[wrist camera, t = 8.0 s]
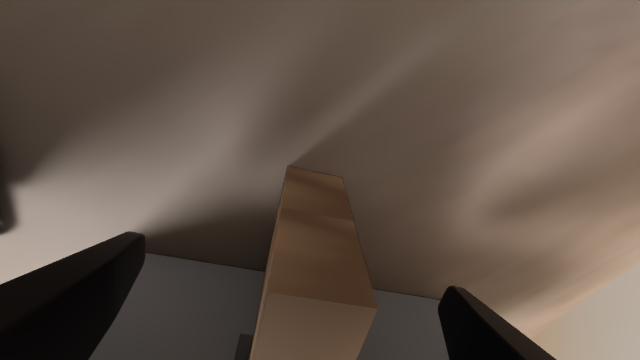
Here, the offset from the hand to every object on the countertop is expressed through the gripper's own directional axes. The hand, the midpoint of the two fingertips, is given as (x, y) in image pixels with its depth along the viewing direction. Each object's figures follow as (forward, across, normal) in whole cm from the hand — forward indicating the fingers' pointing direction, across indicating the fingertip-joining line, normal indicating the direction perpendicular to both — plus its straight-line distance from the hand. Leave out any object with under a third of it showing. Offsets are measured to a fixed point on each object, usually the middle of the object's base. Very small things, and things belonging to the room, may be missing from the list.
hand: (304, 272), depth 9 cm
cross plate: (+3, 0, +4) cm, 5 cm away
